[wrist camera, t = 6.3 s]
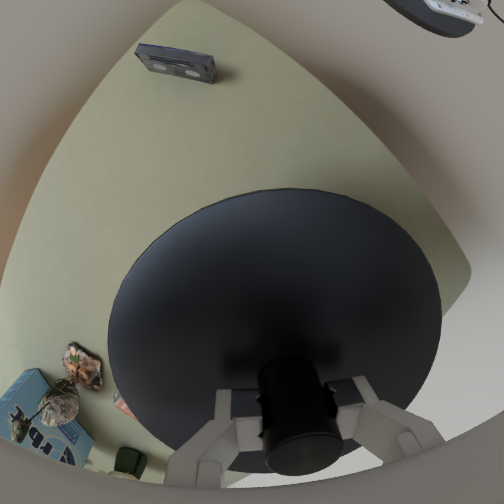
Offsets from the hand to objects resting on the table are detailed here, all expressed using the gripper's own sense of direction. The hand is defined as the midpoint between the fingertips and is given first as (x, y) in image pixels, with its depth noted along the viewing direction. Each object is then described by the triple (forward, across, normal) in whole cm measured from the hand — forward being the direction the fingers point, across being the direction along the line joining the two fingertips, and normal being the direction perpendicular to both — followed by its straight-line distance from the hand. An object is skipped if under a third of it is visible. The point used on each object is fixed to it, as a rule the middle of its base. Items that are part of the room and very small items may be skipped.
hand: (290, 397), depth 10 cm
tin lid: (+2, 0, 0) cm, 2 cm away
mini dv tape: (+25, +8, -22) cm, 34 cm away
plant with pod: (+25, +28, +19) cm, 43 cm away
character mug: (+26, +25, +41) cm, 55 cm away
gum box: (+26, +38, +30) cm, 55 cm away
